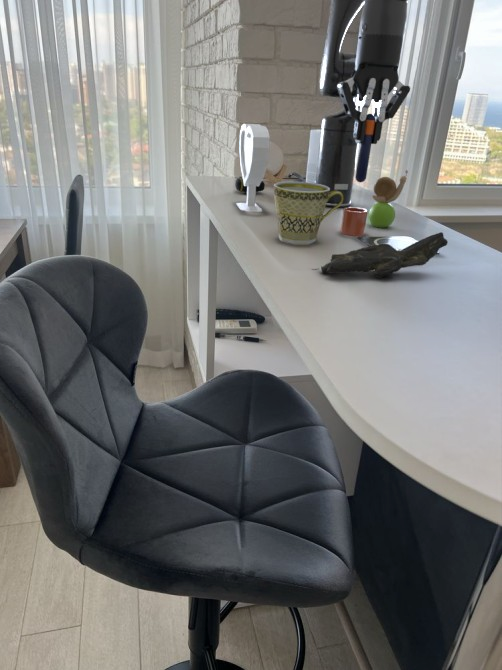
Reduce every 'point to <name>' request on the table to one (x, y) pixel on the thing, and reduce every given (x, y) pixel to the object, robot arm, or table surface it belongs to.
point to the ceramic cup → (301, 210)
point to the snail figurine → (385, 201)
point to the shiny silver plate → (390, 241)
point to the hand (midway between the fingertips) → (365, 142)
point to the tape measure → (243, 189)
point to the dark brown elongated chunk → (386, 257)
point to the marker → (365, 149)
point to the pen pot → (354, 221)
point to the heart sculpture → (253, 161)
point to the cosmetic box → (313, 156)
